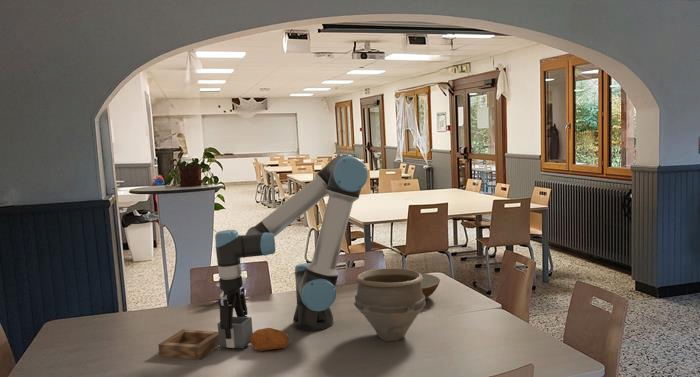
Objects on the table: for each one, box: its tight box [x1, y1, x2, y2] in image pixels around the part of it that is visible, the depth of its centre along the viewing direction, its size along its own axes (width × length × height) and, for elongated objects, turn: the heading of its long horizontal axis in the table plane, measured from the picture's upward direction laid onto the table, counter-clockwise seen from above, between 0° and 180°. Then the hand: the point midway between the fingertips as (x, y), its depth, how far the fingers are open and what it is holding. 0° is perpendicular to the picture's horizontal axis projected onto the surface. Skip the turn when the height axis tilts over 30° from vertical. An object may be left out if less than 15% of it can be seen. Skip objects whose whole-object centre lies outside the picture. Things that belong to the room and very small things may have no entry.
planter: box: [353, 267, 427, 342], centre depth 178 cm, size 25×24×22 cm
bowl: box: [419, 272, 441, 300], centre depth 219 cm, size 25×25×8 cm
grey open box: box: [217, 316, 254, 349], centre depth 175 cm, size 9×7×8 cm
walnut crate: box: [157, 329, 220, 360], centre depth 175 cm, size 15×14×4 cm
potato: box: [249, 327, 290, 352], centre depth 172 cm, size 7×13×7 cm, turn 86°
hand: (236, 342), depth 175 cm, fingers closed on grey open box, 7 cm apart
